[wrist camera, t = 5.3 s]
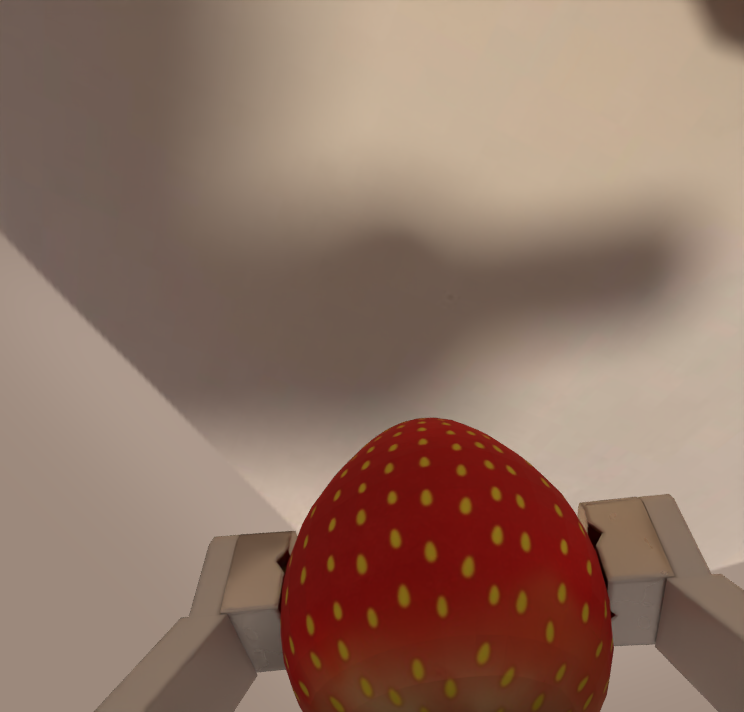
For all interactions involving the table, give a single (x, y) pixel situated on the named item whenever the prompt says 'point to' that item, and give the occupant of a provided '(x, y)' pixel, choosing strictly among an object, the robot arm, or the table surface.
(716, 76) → the table surface
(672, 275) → the table surface
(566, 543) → the fruit
